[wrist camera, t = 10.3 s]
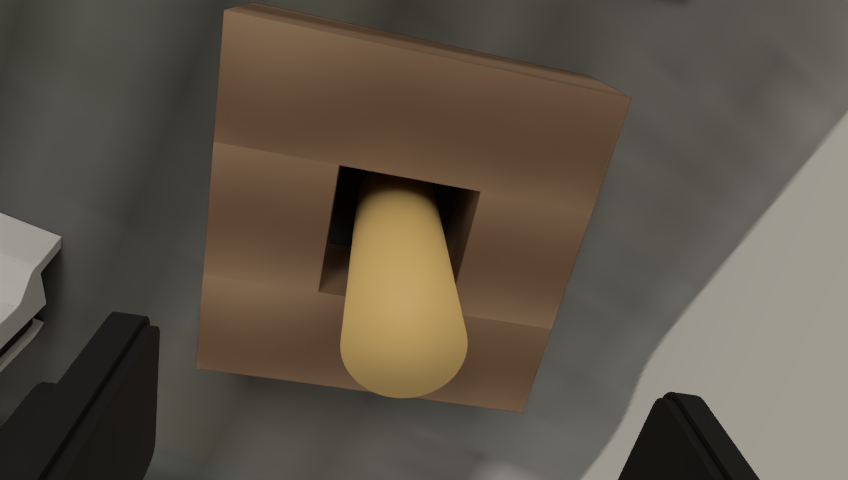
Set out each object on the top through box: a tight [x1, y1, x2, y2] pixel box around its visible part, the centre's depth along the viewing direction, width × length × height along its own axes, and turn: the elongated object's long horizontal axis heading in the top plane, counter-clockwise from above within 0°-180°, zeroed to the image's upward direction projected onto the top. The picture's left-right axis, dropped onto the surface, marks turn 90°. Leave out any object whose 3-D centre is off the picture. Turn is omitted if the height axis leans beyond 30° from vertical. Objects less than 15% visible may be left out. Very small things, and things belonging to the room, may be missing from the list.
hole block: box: [196, 2, 632, 413], centre depth 22 cm, size 12×12×4 cm
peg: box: [340, 171, 468, 398], centre depth 19 cm, size 3×3×10 cm
